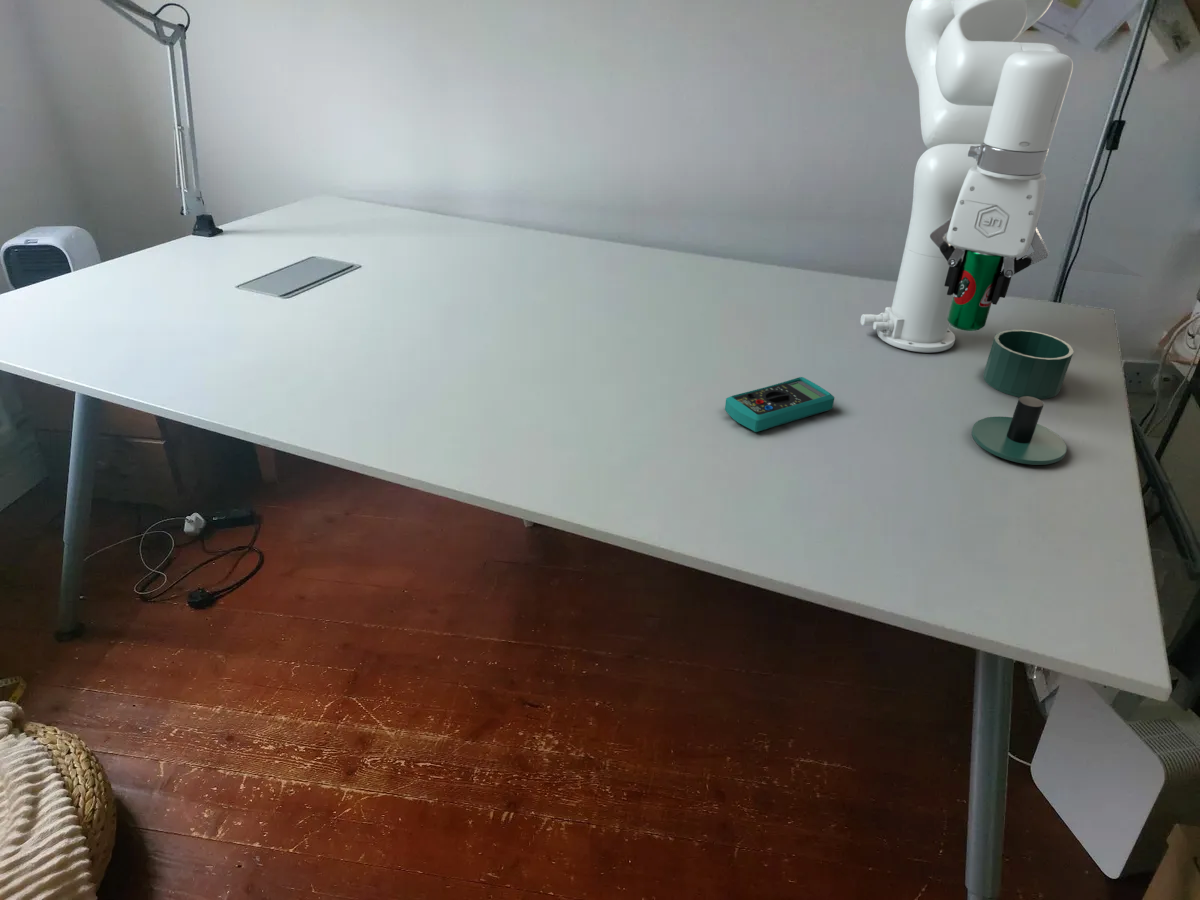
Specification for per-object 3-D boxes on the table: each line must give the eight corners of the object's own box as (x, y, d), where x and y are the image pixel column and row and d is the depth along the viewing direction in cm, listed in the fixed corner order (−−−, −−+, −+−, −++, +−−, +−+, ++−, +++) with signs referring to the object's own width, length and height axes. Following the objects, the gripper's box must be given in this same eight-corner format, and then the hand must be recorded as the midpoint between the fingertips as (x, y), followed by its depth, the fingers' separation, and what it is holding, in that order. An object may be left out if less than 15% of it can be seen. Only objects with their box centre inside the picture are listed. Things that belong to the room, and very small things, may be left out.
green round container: (1023, 404, 118) (1036, 364, 115) (967, 373, 126) (978, 335, 123) (1075, 391, 122) (1090, 352, 118) (1018, 362, 130) (1030, 325, 127)
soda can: (980, 335, 111) (1005, 250, 104) (942, 327, 113) (964, 243, 106) (987, 323, 114) (1011, 240, 108) (950, 315, 116) (972, 233, 110)
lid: (1018, 476, 102) (1034, 430, 98) (951, 433, 111) (963, 389, 107) (1084, 458, 106) (1101, 413, 102) (1013, 417, 115) (1027, 375, 111)
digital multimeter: (719, 413, 115) (721, 394, 113) (800, 390, 121) (803, 372, 119) (751, 436, 109) (754, 417, 108) (834, 411, 115) (838, 393, 114)
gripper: (934, 157, 102) (903, 292, 112) (1084, 177, 95) (1036, 319, 105) (947, 146, 108) (916, 276, 118) (1089, 164, 100) (1043, 301, 110)
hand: (973, 295), depth 111 cm, fingers closed on soda can, 5 cm apart
